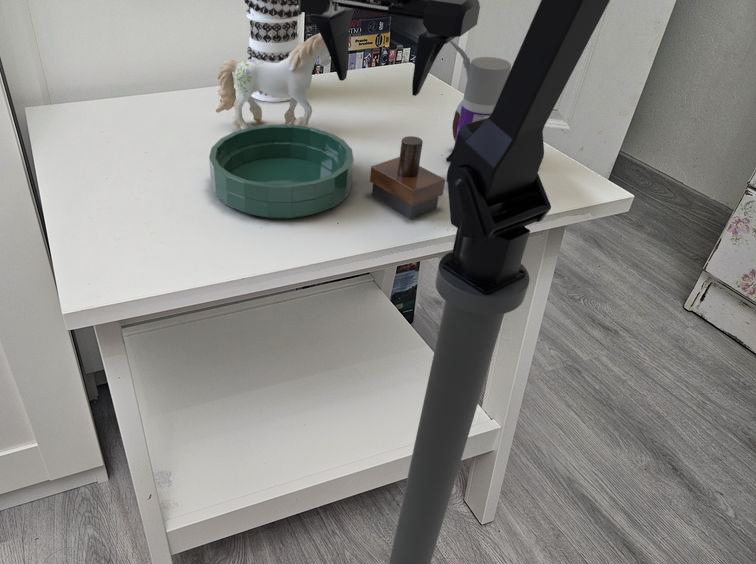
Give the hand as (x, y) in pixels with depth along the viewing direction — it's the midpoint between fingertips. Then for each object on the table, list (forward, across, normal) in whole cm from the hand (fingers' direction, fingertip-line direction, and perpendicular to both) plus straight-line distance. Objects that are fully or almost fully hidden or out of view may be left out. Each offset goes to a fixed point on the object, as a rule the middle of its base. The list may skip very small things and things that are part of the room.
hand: (378, 87), depth 73 cm
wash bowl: (+12, +10, +6) cm, 17 cm away
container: (+13, -10, -7) cm, 18 cm away
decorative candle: (+13, +28, -22) cm, 38 cm away
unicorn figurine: (+13, +20, -12) cm, 27 cm away
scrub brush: (+13, -5, +1) cm, 14 cm away
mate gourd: (+13, -8, -15) cm, 21 cm away
